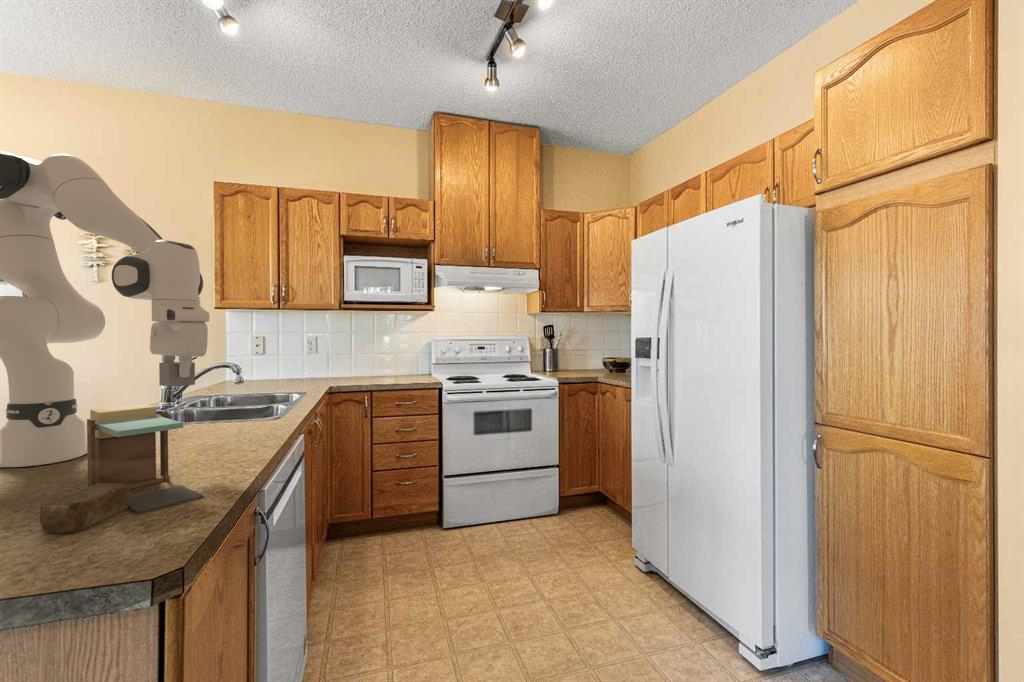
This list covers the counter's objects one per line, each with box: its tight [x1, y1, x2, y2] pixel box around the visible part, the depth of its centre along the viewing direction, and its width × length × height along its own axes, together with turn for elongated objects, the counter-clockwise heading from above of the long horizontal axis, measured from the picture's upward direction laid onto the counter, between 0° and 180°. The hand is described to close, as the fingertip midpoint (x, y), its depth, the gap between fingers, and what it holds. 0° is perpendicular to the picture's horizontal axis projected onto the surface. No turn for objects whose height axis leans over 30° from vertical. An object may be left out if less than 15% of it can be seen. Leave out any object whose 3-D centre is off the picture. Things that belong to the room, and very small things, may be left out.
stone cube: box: [158, 361, 196, 388], centre depth 105 cm, size 5×5×5 cm
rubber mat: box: [127, 484, 204, 515], centre depth 87 cm, size 10×10×1 cm
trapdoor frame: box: [77, 410, 171, 490], centre depth 95 cm, size 8×13×14 cm, turn 145°
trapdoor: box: [89, 403, 184, 439], centre depth 92 cm, size 18×10×5 cm, turn 55°
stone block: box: [39, 483, 129, 535], centre depth 77 cm, size 6×12×5 cm, turn 3°
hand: (177, 376), depth 105 cm, fingers closed on stone cube, 5 cm apart
